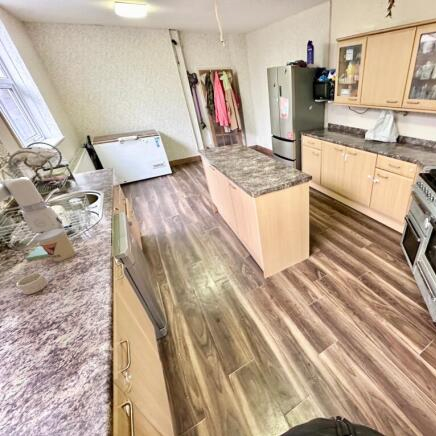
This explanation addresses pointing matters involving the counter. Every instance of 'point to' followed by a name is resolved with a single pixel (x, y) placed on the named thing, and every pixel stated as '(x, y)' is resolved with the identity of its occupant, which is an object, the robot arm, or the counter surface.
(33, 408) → the counter surface
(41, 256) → the light green flat piece
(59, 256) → the coffee cup
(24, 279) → the bowl
